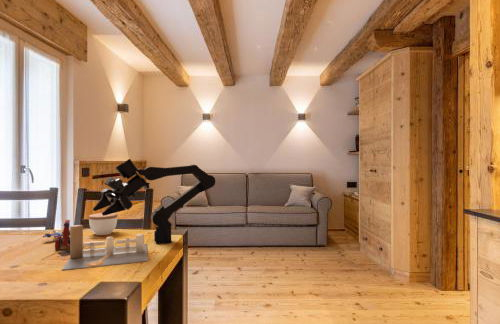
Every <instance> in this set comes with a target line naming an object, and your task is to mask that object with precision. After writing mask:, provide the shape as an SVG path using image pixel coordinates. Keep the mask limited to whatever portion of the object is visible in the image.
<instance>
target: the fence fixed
mask: <svg viewBox="0 0 500 324" xmlns="http://www.w3.org/2000/svg"><path fill="white" fill-rule="evenodd" d="M114 239H115V238H114V236H107V237H106V247H107V255H113V254H114V247H115V246H114V245H119V244H120V245H121V244H125V245H122V246H123V247H115V251H122V250H126V252H129V250H132V249H136V252H144V244H145V234H143V233H139V234H136V235H135V238H130V237H125V239H116V240H114ZM114 242H115V243H114ZM131 243H135V244H133V245H134V246H129V245H130V244H131Z"/></svg>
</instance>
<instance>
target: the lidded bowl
mask: <svg viewBox="0 0 500 324" xmlns="http://www.w3.org/2000/svg"><path fill="white" fill-rule="evenodd" d="M104 211H105V210H102V212H100V213H99V212H98V213H94V214H89V215H88V223H89V228H90V230H91V231H92V233H94V234H95V235H96V236H107V235H111V234H112V233H113V231H114V230H116V227H117V224H118V212H115V213H112V214H108V215H105V216H103V215H102V213H103V212H104Z"/></svg>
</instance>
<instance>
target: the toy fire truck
mask: <svg viewBox="0 0 500 324" xmlns="http://www.w3.org/2000/svg"><path fill="white" fill-rule="evenodd" d="M70 222H71V221H70V219H66V220H65V221H64V223H63V230H64V231H63V230H62V231H63V232H61V233H62V236H58V237H56V238H55V240H54V250H60V249H61V248H67V247H69V246H70V226H71V225H70Z"/></svg>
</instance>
